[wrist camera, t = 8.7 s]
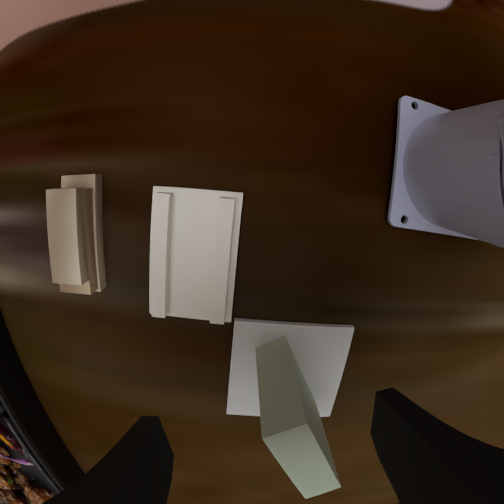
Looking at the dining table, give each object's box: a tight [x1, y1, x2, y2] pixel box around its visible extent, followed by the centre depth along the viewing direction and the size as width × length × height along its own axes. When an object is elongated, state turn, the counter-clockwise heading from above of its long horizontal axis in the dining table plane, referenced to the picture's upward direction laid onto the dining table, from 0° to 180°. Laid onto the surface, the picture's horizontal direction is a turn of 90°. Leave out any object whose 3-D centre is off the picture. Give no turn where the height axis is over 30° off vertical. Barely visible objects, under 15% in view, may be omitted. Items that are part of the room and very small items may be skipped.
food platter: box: [0, 310, 85, 504], centre depth 20 cm, size 45×25×10 cm, turn 8°
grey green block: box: [255, 336, 341, 499], centre depth 16 cm, size 2×6×8 cm, turn 24°
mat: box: [226, 318, 355, 417], centre depth 20 cm, size 8×8×1 cm
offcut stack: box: [46, 174, 107, 295], centre depth 17 cm, size 2×7×3 cm, turn 178°
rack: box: [149, 186, 243, 325], centre depth 18 cm, size 5×8×2 cm, turn 174°
